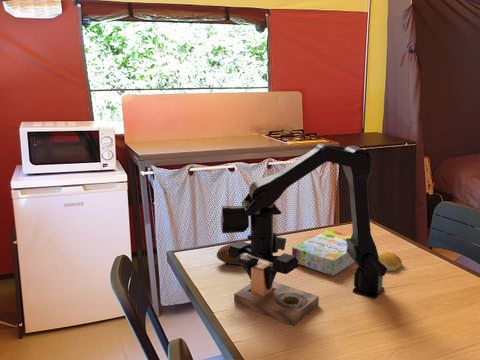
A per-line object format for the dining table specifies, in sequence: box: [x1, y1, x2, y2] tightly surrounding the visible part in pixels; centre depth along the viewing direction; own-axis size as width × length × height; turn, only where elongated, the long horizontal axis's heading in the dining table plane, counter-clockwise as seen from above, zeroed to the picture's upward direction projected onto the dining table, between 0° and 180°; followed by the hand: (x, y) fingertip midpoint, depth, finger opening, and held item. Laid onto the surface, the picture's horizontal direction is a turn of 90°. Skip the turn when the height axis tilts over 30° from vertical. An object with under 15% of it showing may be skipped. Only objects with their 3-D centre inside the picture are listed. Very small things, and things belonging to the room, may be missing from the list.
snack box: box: [291, 229, 355, 277], centre depth 142 cm, size 21×6×15 cm
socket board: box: [233, 280, 320, 327], centre depth 116 cm, size 18×12×2 cm, turn 51°
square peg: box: [250, 262, 273, 297], centre depth 117 cm, size 4×4×8 cm
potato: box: [216, 241, 242, 265], centre depth 139 cm, size 7×12×7 cm, turn 95°
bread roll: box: [378, 251, 403, 272], centre depth 137 cm, size 8×9×4 cm
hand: (261, 286), depth 118 cm, fingers closed on square peg, 4 cm apart
